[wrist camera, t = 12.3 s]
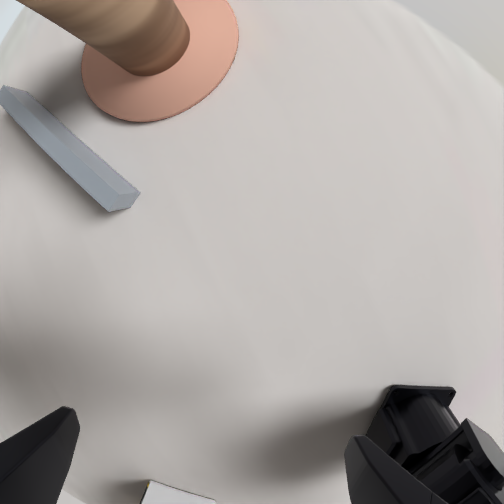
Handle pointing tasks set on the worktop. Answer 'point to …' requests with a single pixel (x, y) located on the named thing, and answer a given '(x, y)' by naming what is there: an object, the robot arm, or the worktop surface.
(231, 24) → the resting pad
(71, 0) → the walnut cylinder
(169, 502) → the medicine bottle
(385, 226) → the worktop surface
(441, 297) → the worktop surface
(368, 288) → the worktop surface
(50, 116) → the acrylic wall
